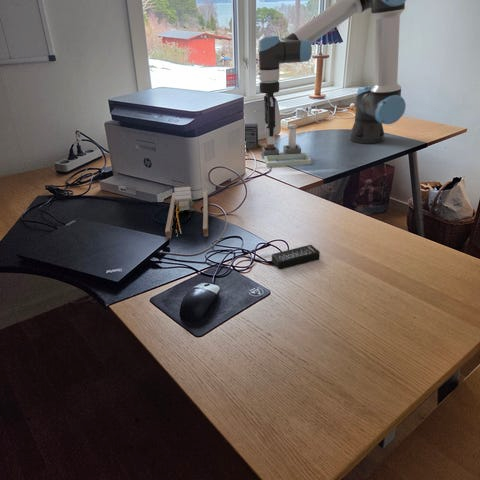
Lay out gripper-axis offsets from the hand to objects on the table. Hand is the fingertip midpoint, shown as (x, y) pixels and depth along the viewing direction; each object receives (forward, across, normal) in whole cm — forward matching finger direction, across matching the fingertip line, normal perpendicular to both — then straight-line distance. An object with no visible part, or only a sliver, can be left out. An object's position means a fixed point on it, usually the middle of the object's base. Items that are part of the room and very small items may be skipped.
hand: (270, 141), depth 170 cm
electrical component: (+7, +53, -33) cm, 62 cm away
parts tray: (+7, +9, +6) cm, 13 cm away
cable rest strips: (+7, +52, -32) cm, 61 cm away
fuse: (+6, 0, +9) cm, 11 cm away
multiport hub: (+7, +81, -5) cm, 82 cm away
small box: (+7, -16, -8) cm, 20 cm away
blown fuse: (+6, 0, 0) cm, 6 cm away
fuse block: (+7, 0, +4) cm, 8 cm away
